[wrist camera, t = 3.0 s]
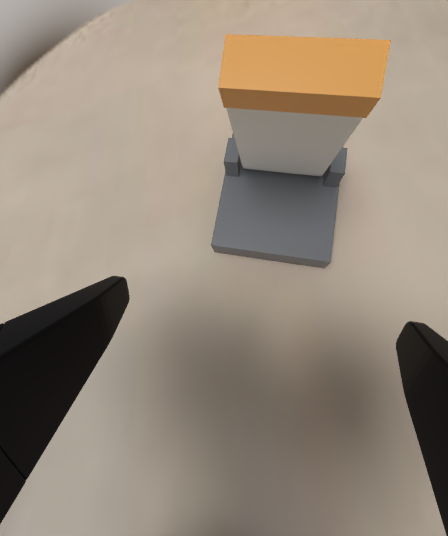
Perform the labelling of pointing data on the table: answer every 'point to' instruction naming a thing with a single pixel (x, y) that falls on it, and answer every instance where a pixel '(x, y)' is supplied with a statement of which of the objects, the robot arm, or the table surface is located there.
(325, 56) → the lever
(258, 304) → the table surface
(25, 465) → the robot arm
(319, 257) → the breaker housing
